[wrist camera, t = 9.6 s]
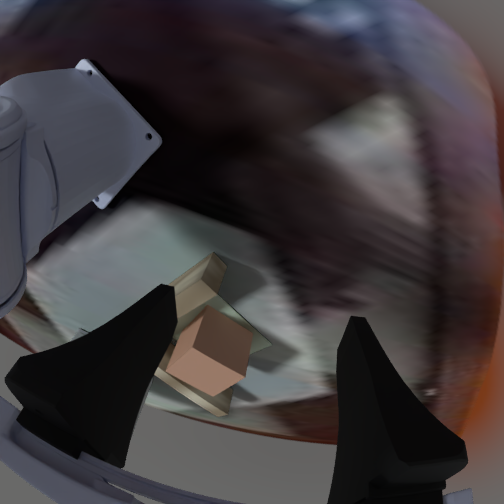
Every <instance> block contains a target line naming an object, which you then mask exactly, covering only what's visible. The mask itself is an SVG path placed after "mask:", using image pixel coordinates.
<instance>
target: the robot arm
mask: <svg viewBox="0 0 504 504" xmlns="http://www.w3.org/2000/svg"><path fill="white" fill-rule="evenodd" d="M91 70H92V75H90V72H91ZM148 133H150V134H151V135H152V139H149V138H148ZM161 144H162V138H161V137H160V135H159V134H158V133H157V132H156V131H155V130H154V129H153V128H152V127H151V126H150V125H149V123H148V122H147V121H146V120H145V119H144V118H143V117H142V116H141V115H140V114H139V113H138V112H137V111H136V110H135V108H134V107H133V106H132V105H131V104H130V103H129V102H128V101H127V100H126V99H125V98H124V97H123V96H122V95H121V94H120V92H119V91H118V90H117V89H116V88H115V87H114V86H113V85H112V84H111V83H110V82H109V81H108V80H107V79H106V78H105V77H104V75H103V74H102V73H101V72H100V71H99V70H98V69H97V68H96V67H95V66H94V65H93V64H92V63H91V62H90V61H89V60H88V59H83V60H81V61H80V62H79V63H78V65H77V66H76V67H75V68H72V69H61V70H51V71H43V72H35V73H28V74H23V75H19V76H17V77H14V78H12V79H10V80H9V81H7V82H5V83H4V84H2V85H1V86H0V318H2V317H3V316H5V315H6V314H8V313H9V312H10V311H11V310H12V309H13V308H14V307H15V306H16V304H17V303H18V302H19V300H20V299H21V297H22V295H23V293H24V290H25V287H26V282H27V269H26V264H25V263H27V262H28V261H29V260H30V259H31V258H32V257H33V256H35V255H36V254H37V253H38V252H39V244H40V242H41V240H42V239H43V238H44V237H45V236H47V235H48V234H49V233H51V232H52V231H53V230H54V229H55V228H57V227H58V226H59V225H60V224H62V223H63V222H64V221H65V220H67V219H68V218H69V217H70V216H72V215H73V214H74V213H76V212H77V211H78V210H80V209H81V208H82V207H84V206H85V205H86V204H88V203H89V202H90V201H93V202H94V203H95V204H96V205H97V206H98V207H99V208H101V209H104V208H105V207H106V206H107V205H108V204H109V203H110V202H111V201H112V199H113V198H114V197H115V196H116V195H117V193H118V192H119V191H120V190H121V189H122V187H123V186H124V185H125V184H126V183H127V182H128V180H129V179H130V178H131V177H132V176H133V175H134V174H135V173H136V171H137V170H138V169H139V168H140V167H141V166H142V165H143V164H144V163H145V162H146V160H147V159H148V158H149V157H150V156H151V155H152V154H153V153H154V152H155V151H156V150H157V149H158V148H159V147H160V145H161ZM97 196H98V197H99V200H98V199H97ZM177 323H178V318H177V309H176V299H175V288H174V286H169V285H164V284H160V285H159V286H157V287H156V288H155V289H153V290H152V291H151V292H149V293H148V294H147V295H145V296H144V297H143V298H141V299H140V300H139V301H137V302H136V303H135V304H133V305H132V306H130V307H129V308H128V309H126V310H125V311H124V312H122V313H121V314H119V315H118V316H116V317H115V318H113V319H112V320H110V321H109V322H107V323H105V324H104V325H102V326H100V327H99V328H97V329H95V330H93V331H91V332H89V333H88V334H86V335H84V336H81V337H79V338H77V339H75V340H73V341H70V342H68V343H66V344H63V345H61V346H58V347H55V348H52V349H49V350H46V351H43V352H39V353H35V354H31V355H27V356H23V357H20V358H19V359H18V360H17V362H16V363H15V364H14V366H13V367H12V369H11V370H10V372H9V373H8V374H7V375H6V377H5V383H6V385H7V387H8V388H9V389H10V391H11V392H12V393H13V395H14V396H15V397H16V398H17V400H18V401H19V402H20V403H21V404H22V405H23V409H22V411H20V410H18V409H17V408H16V407H15V406H13V405H12V404H11V403H9V402H8V401H7V400H5V399H4V398H2V397H1V396H0V460H1V461H2V462H3V463H4V464H5V465H6V466H8V467H9V468H10V469H11V470H12V471H14V472H15V473H16V474H17V475H19V476H20V477H21V478H23V479H24V480H25V481H26V482H28V483H29V484H30V485H32V486H33V487H35V488H36V489H37V490H39V491H40V492H42V493H43V494H45V495H46V496H47V497H49V498H50V499H52V500H53V501H55V502H56V503H58V504H144V503H142V502H140V501H139V500H137V499H136V498H134V496H133V495H131V494H129V493H127V492H125V491H123V490H121V489H118V488H116V487H114V486H112V485H110V484H109V483H112V484H114V485H116V486H119V487H121V488H123V489H126V490H129V491H131V492H133V493H136V494H139V495H142V496H144V497H147V498H150V499H153V500H155V501H158V502H162V503H165V504H243V503H238V502H231V501H227V500H222V499H217V498H212V497H208V496H204V495H199V494H196V493H192V492H188V491H184V490H181V489H177V488H174V487H171V486H167V485H164V484H161V483H158V482H155V481H152V480H149V479H146V478H143V477H141V476H138V475H135V474H133V473H130V472H128V471H125V470H123V469H121V468H123V467H124V466H125V461H126V456H127V452H128V448H129V443H130V440H131V436H132V433H133V429H134V425H135V422H136V419H137V416H138V413H139V410H140V407H141V404H142V401H143V399H144V396H145V393H146V390H147V388H148V386H149V384H150V382H151V380H152V378H153V376H154V374H155V372H156V370H157V368H158V366H159V364H160V362H161V360H162V358H163V356H164V354H165V352H166V351H167V349H168V347H169V345H170V343H171V340H172V337H173V335H174V332H175V329H176V326H177ZM336 375H337V391H338V408H339V431H338V442H337V452H336V460H335V467H334V473H333V479H332V484H331V489H330V494H329V498H328V503H327V504H473V495H472V489H471V488H468V489H465V490H461V491H457V492H453V493H449V494H446V495H444V496H442V490H443V489H445V488H446V481H445V480H446V479H448V478H450V477H451V476H453V475H455V474H456V473H458V472H459V471H461V470H462V469H463V468H464V467H465V466H466V465H467V464H468V457H467V451H466V446H465V442H464V440H462V439H461V438H460V437H458V436H457V435H456V434H454V433H453V432H452V431H451V430H449V429H448V428H447V427H446V426H444V425H443V424H442V423H441V422H440V421H439V420H438V419H437V418H436V417H435V416H434V415H433V414H431V413H430V412H429V411H428V409H427V408H426V407H425V406H424V405H423V404H422V403H421V402H420V401H419V400H418V399H417V397H416V396H415V395H414V394H413V393H412V391H411V390H410V389H409V387H408V386H407V385H406V384H405V382H404V381H403V380H402V378H401V377H400V375H399V374H398V372H397V371H396V369H395V368H394V366H393V365H392V363H391V362H390V360H389V358H388V357H387V355H386V353H385V352H384V350H383V348H382V347H381V345H380V343H379V341H378V340H377V338H376V336H375V334H374V332H373V331H372V329H371V327H370V325H369V323H368V322H367V320H366V318H365V317H357V316H351V317H350V319H349V322H348V325H347V327H346V330H345V332H344V335H343V337H342V340H341V342H340V344H339V347H338V349H337V367H336ZM108 482H109V483H108Z"/></svg>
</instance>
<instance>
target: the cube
mask: <svg viewBox="0 0 504 504" xmlns="http://www.w3.org/2000/svg"><path fill="white" fill-rule="evenodd" d="M252 338H253V333H252V332H250V331H249V330H247V329H245V328H244V327H242V326H241V325H239V324H237V323H236V322H234V321H233V320H231V319H229V318H228V317H226V316H225V315H223V314H222V313H220V312H218V311H217V310H215V309H214V308H212V307H211V306H209V305H207V306H206V307H205V308H204V309H203V310H202V311H201V312H200V313H199V314H198V315H197V316H196V317H195V318H194V319H193V320H192V321H191V322H190V323H189V324H188V325H187V326H186V327H185V329H184V330H183V331H182V332H181V334H180V337H179V339H178V342H177V344H176V346H175V349H174V351H173V354H172V356H171V359H170V361H169V364H168V366H167V369H166V372H168V373H170V374H171V375H173V376H175V377H177V378H178V379H180V380H182V381H184V382H186V383H188V384H189V385H191V386H193V387H195V388H197V389H199V390H201V391H203V392H205V393H207V394H209V395H211V396H215V395H217V394H219V393H220V392H222V391H224V390H225V389H227V388H229V387H230V386H232V385H233V384H235V383H237V382H238V381H240V380H242V379H243V378H245V376H246V371H247V365H248V360H249V354H250V349H251V343H252Z"/></svg>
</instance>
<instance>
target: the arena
mask: <svg viewBox="0 0 504 504" xmlns="http://www.w3.org/2000/svg"><path fill="white" fill-rule="evenodd" d="M226 268H227V266H226V265H225V264H224V263H223V262H222V261H221V260H220V258H219V257H218V256H217V255H216V254H215V253H214V252H213V253H211V254H210V255H208V256H207V257H206V258H204V259H203V260H202V261H200V262H199V263H197V264H196V265H195V266H193V267H192V268H191V269H189V270H188V271H186V272H185V273H184V274H182V275H181V276H180V277H178V278H177V279H176V280H174V281H173V282H171V283H170V284H169V286H174V288H175V299H176V309H177V318H178V323H177V326H176V329H175V332H174V335H173V338H174V339H175V340H176V341H178V339H179V337H180V334H181V332H182V331H183V330H184V329H185V327H186V326H187V325H188V324H189V323H190V322H191V321H192V320H193V319H194V318H195V317H196V316H197V315H198V314H199V313H200V312H201V311H202V310H203V309H204V308H205V307H206V306H207V305H209V306H211V307H212V308H214V309H215V310H217V311H218V312H220V313H222V314H223V315H225V316H226V317H228V318H229V319H231V320H233V321H234V322H236V323H237V324H239V325H241V326H242V327H244V328H245V329H247V330H249V331H250V332H252V333H253V338H252V343H251V349H250V354H253V353H255V352H257V351H260V350H262V349H264V348H266V347H269V346H271V345H272V344H271V343H270V342H269V341H268V340H267V339H266V338H265V337H264V336H262V335H261V334H260V333H259V332H258V331H257V330H256V329H255V328H254V327H253V326H251V325H250V324H249V323H248V322H247V321H246V320H245V319H244V318H243V317H242V316H241V315H239V314H238V313H237V312H236V311H235V310H234V309H233V308H232V307H231V306H230V305H229V304H228V303H227V302H226V301H225V300H223V299H222V298H221V297H220V296H219V295H218V291H219V288H220V286H221V283H222V280H223V277H224V274H225V271H226ZM174 349H175V346H174V345H173V344H172V343H170V345H169V347H168V349H167V351H166V352H165V354H164V356H163V358H162V360H161V362H160V364H159V366H158V368H157V370H156V372H155V374H154V375H156V376H157V377H158V378H160V379H161V380H163V381H164V382H165V383H167V384H168V385H170V386H171V387H172V388H174V389H175V390H177V391H178V392H180V393H181V394H183V395H184V396H186V397H187V398H189V399H190V400H192V401H193V402H195V403H196V404H198V405H199V406H201V407H203V408H204V409H206V410H207V411H209V412H211V413H212V414H214V415H215V416H217V417H220V416H224V415H228V411H229V407H230V402H231V397H232V393H233V389H231V388H230V387H229V388H227V389H225V390H224V391H222V392H220V393H219V394H217V395H215V396H211V395H209V394H207V393H205V392H203V391H201V390H199V389H197V388H195V387H193V386H191V385H189V384H188V383H186V382H184V381H182V380H180V379H178V378H177V377H175V376H173V375H171V374H170V373H168V372H166V369H167V366H168V364H169V361H170V359H171V356H172V354H173V351H174ZM250 354H249V355H250Z"/></svg>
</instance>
